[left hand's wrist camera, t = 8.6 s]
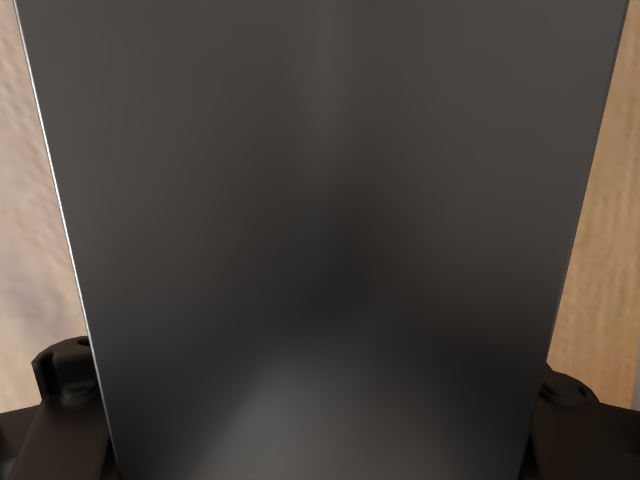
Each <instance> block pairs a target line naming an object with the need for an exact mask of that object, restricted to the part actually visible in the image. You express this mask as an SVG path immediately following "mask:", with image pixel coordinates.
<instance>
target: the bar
mask: <svg viewBox="0 0 640 480" xmlns="http://www.w3.org/2000/svg"><path fill="white" fill-rule="evenodd" d="M629 1H630V0H13V4H14V9H15V13H16V18H17V22H18V26H19V31H20V35H21V40H22V44H23V49H24V53H25V58H26V62H27V67H28V71H29V75H30V80H31V84H32V89H33V93H34V98H35V102H36V107H37V111H38V116H39V120H40V124H41V129H42V133H43V138H44V142H45V147H46V151H47V156H48V160H49V165H50V169H51V173H52V178H53V182H54V187H55V191H56V196H57V200H58V205H59V209H60V214H61V218H62V222H63V227H64V231H65V236H66V240H67V245H68V249H69V254H70V258H71V263H72V267H73V271H74V276H75V280H76V285H77V289H78V294H79V298H80V303H81V307H82V312H83V316H84V320H85V325H86V329H87V334H88V338H89V343H90V347H91V352H92V356H93V361H94V365H95V369H96V374H97V378H98V383H99V387H100V392H101V396H102V401H103V405H104V410H105V414H106V418H107V423H108V427H109V432H110V436H111V441H112V445H113V450H114V454H115V459H116V463H117V467H118V472H119V476H120V480H519V478H520V473H521V469H522V465H523V460H524V456H525V452H526V447H527V443H528V439H529V434H530V430H531V426H532V421H533V417H534V413H535V408H536V404H537V400H538V395H539V391H540V387H541V382H542V378H543V374H544V369H545V365H546V361H547V356H548V352H549V348H550V343H551V339H552V335H553V330H554V326H555V322H556V317H557V313H558V309H559V304H560V300H561V296H562V291H563V287H564V283H565V278H566V274H567V270H568V265H569V261H570V257H571V252H572V248H573V244H574V239H575V235H576V231H577V226H578V222H579V218H580V213H581V209H582V205H583V200H584V196H585V191H586V187H587V183H588V178H589V174H590V170H591V165H592V161H593V157H594V152H595V148H596V144H597V139H598V135H599V131H600V126H601V122H602V118H603V113H604V109H605V105H606V100H607V96H608V92H609V87H610V83H611V79H612V74H613V70H614V66H615V61H616V57H617V53H618V48H619V44H620V40H621V35H622V31H623V27H624V22H625V18H626V14H627V9H628V5H629Z"/></svg>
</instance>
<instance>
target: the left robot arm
mask: <svg viewBox="0 0 640 480" xmlns="http://www.w3.org/2000/svg"><path fill="white" fill-rule="evenodd" d="M31 363H32V367H33V370H34V374H35V377H36V381H37V384H38V387H39V391H40V394H41V398H42V401H41V403H40V405H36V406H32V407H28V408H23V409H19V410H14V411H9V412H5V413H0V480H120V476H119V472H118V467H117V463H116V459H115V454H114V450H113V445H112V441H111V436H110V432H109V427H108V423H107V418H106V414H105V410H104V405H103V401H102V396H101V392H100V387H99V383H98V378H97V374H96V369H95V365H94V361H93V356H92V352H91V347H90V343H89V338H88V336H79V337H75V338H71V339H67V340H64V341H61V342H59V343H56V344H54V345H52V346H50V347H48V348H47V349H45V350H44V351H42V352H41V353H39V354H38V355H37V356H36V357H35V359H34V360H33V361H32V362H31ZM519 480H640V412H639V411H635V410H630V409H625V408H621V407H616V406H611V405H607V404H604V403H600V402H599V400H598V398H597V397H596V395H595V394H594V393H593V391H592V390H591V389H590V388H588V387H587V386H586V385H585V384H583V383H582V382H581V381H579V380H577V379H575V378H573V377H570V376H568V375H566V374H563V373H559V372H555V371H553V370H552V369H551V368H550V366H549V365H548V364H547V362H546V365H545V369H544V374H543V378H542V382H541V387H540V391H539V395H538V400H537V404H536V408H535V413H534V417H533V421H532V426H531V430H530V434H529V439H528V443H527V447H526V452H525V456H524V460H523V465H522V469H521V473H520V478H519Z"/></svg>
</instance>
